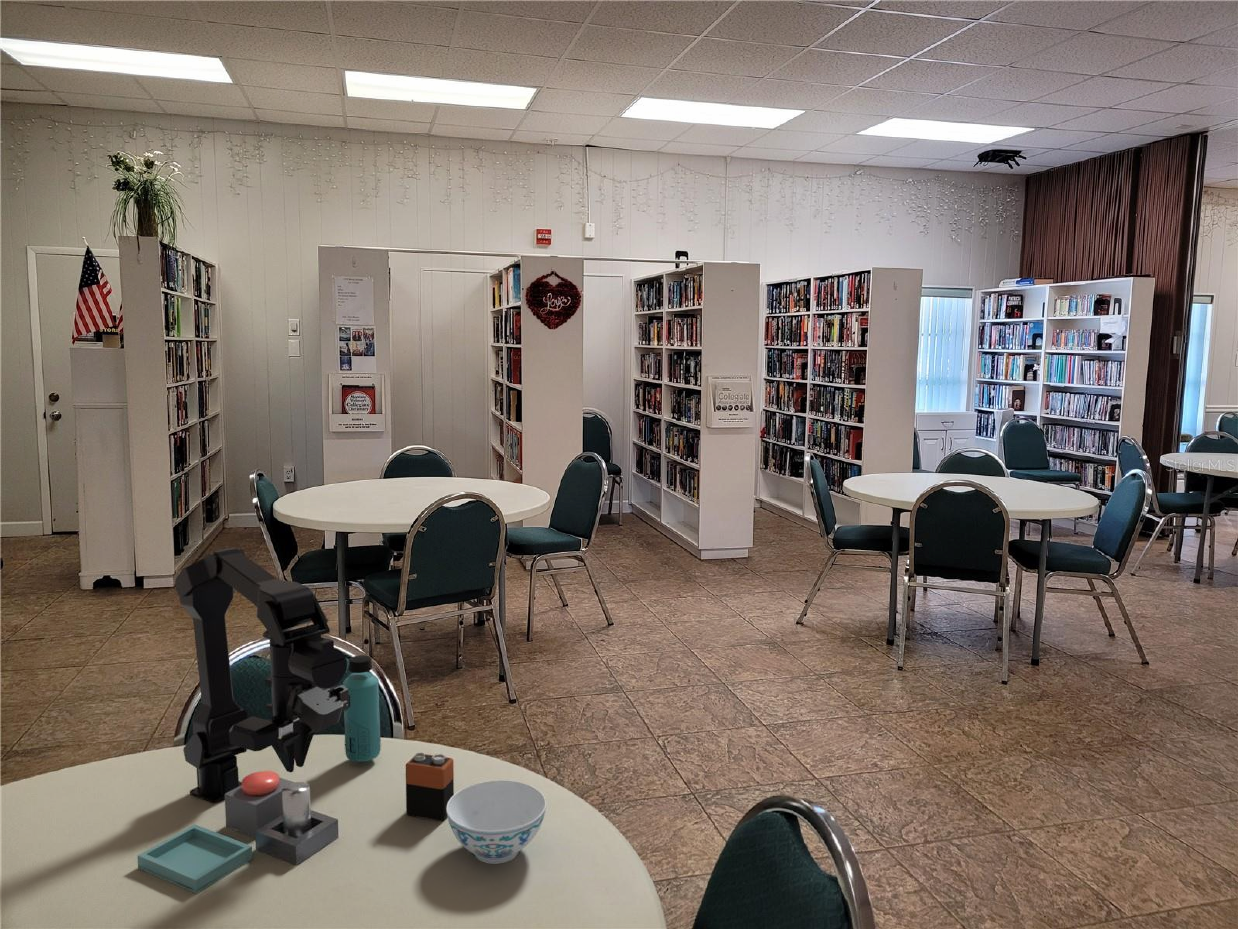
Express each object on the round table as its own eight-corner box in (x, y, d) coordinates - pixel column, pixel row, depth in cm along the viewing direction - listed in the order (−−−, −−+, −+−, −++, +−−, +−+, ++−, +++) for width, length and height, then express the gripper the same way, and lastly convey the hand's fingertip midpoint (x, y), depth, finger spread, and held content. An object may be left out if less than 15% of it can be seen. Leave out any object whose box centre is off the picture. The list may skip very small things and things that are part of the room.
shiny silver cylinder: (278, 846, 137) (276, 791, 136) (298, 833, 141) (296, 779, 139) (297, 853, 135) (295, 797, 134) (317, 840, 139) (315, 786, 138)
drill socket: (255, 849, 136) (255, 831, 136) (298, 823, 144) (298, 805, 143) (296, 865, 132) (295, 846, 132) (338, 837, 140) (338, 819, 139)
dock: (226, 826, 142) (224, 794, 142) (266, 803, 149) (265, 772, 149) (257, 838, 139) (255, 805, 138) (297, 814, 146) (296, 782, 145)
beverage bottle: (388, 757, 167) (386, 653, 164) (367, 773, 160) (365, 666, 158) (358, 751, 169) (356, 649, 166) (336, 766, 163) (333, 661, 160)
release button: (234, 805, 143) (233, 782, 142) (262, 789, 148) (262, 768, 147) (259, 814, 140) (258, 791, 140) (287, 798, 145) (286, 776, 144)
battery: (443, 822, 145) (442, 764, 143) (405, 816, 146) (404, 758, 145) (454, 809, 149) (454, 752, 147) (417, 803, 151) (417, 746, 149)
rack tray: (138, 868, 131) (137, 855, 131) (195, 836, 139) (194, 824, 139) (196, 893, 125) (195, 880, 125) (252, 858, 134) (252, 846, 133)
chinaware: (520, 890, 128) (521, 839, 126) (428, 868, 132) (427, 819, 131) (560, 835, 142) (561, 789, 141) (475, 817, 146) (475, 773, 145)
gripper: (280, 703, 122) (284, 810, 124) (375, 661, 139) (378, 756, 141) (224, 688, 127) (229, 791, 130) (322, 648, 144) (325, 741, 146)
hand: (294, 769), depth 136 cm, fingers closed
